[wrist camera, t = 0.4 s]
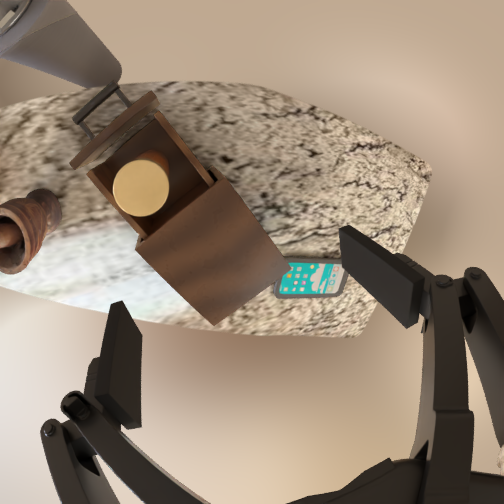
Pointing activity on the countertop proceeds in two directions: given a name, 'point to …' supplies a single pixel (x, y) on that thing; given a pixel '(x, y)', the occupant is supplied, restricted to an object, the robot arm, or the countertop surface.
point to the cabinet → (214, 252)
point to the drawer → (150, 137)
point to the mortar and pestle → (26, 228)
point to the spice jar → (143, 183)
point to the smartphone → (311, 278)
